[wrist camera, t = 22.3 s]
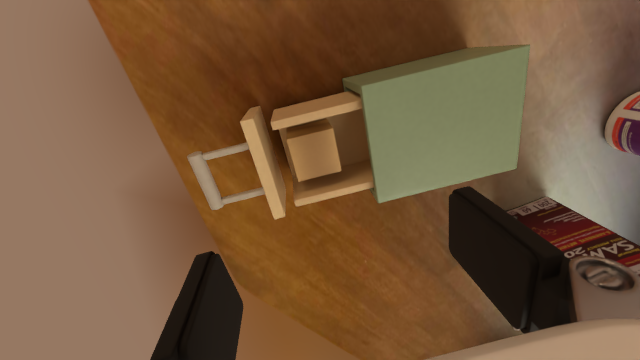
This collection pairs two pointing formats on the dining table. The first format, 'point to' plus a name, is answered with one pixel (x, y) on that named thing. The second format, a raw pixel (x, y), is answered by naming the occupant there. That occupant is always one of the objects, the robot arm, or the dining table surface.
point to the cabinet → (443, 118)
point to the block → (313, 149)
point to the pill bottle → (625, 126)
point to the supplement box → (576, 233)
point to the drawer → (350, 145)
